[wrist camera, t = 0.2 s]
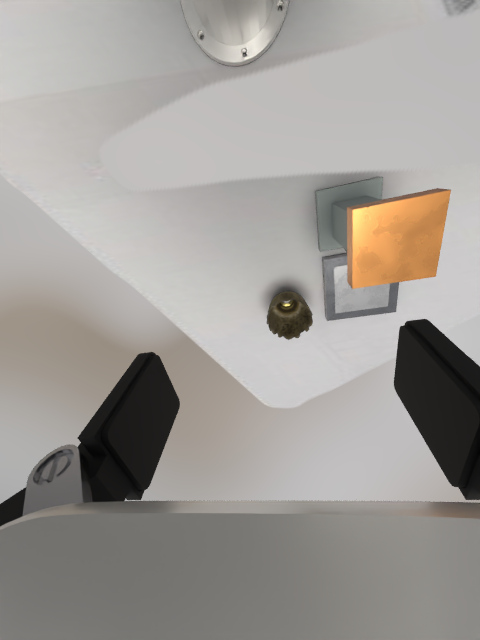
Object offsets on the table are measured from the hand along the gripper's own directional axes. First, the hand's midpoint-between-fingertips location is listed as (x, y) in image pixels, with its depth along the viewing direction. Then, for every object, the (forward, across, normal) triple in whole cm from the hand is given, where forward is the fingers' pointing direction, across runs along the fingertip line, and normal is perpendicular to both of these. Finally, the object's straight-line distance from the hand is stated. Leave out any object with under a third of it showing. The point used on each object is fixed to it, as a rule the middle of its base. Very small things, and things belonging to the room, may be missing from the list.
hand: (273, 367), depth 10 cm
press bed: (+36, -14, +14) cm, 41 cm away
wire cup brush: (+37, -1, +14) cm, 39 cm away
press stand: (+36, -12, +2) cm, 38 cm away
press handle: (+30, -12, +2) cm, 33 cm away
